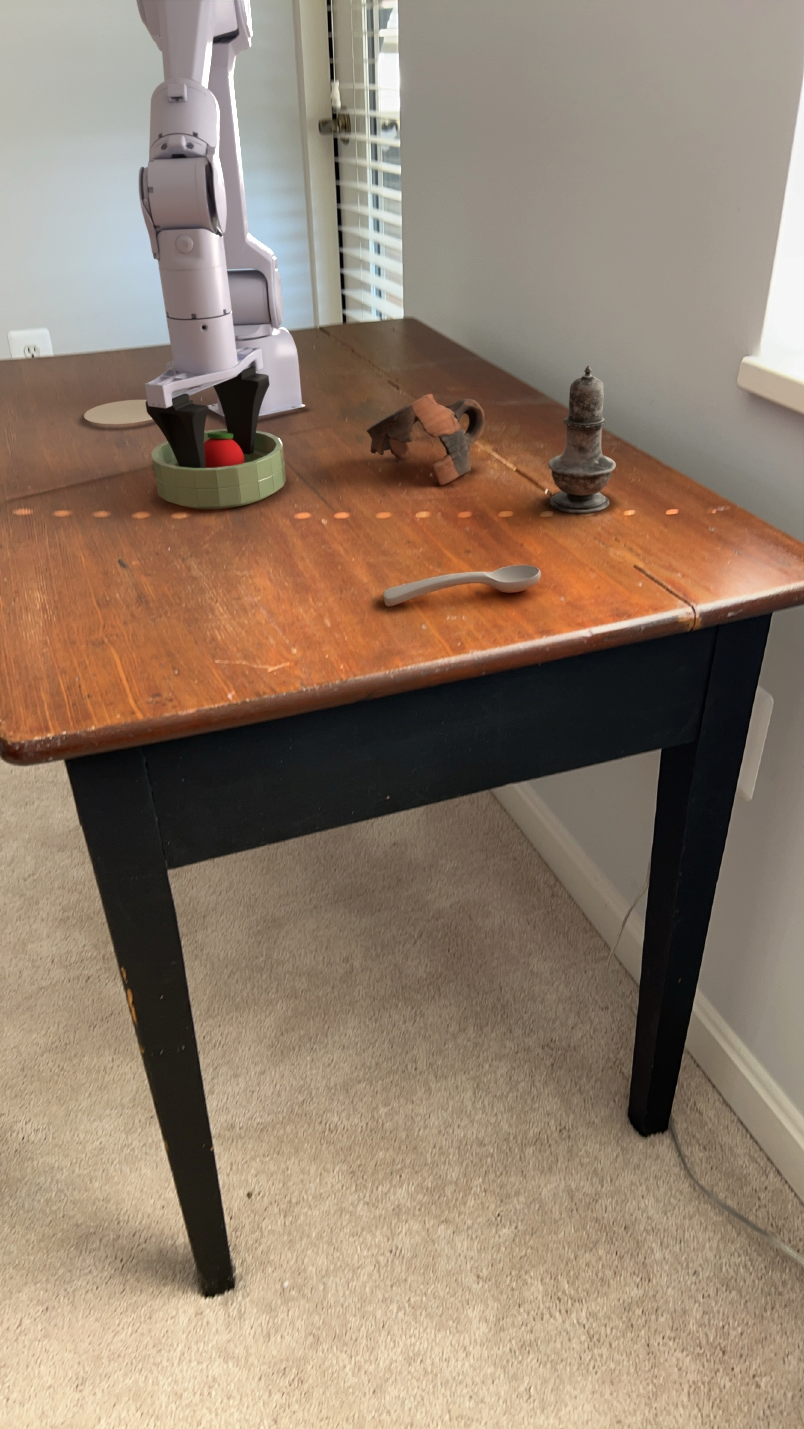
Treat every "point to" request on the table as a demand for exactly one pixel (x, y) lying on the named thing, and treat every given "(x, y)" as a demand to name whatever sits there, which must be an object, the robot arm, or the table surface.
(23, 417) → the table surface
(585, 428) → the salt shaker
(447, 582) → the spoon
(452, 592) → the table surface
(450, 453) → the brown irregular piece
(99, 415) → the saucer
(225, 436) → the tomato
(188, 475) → the bowl
